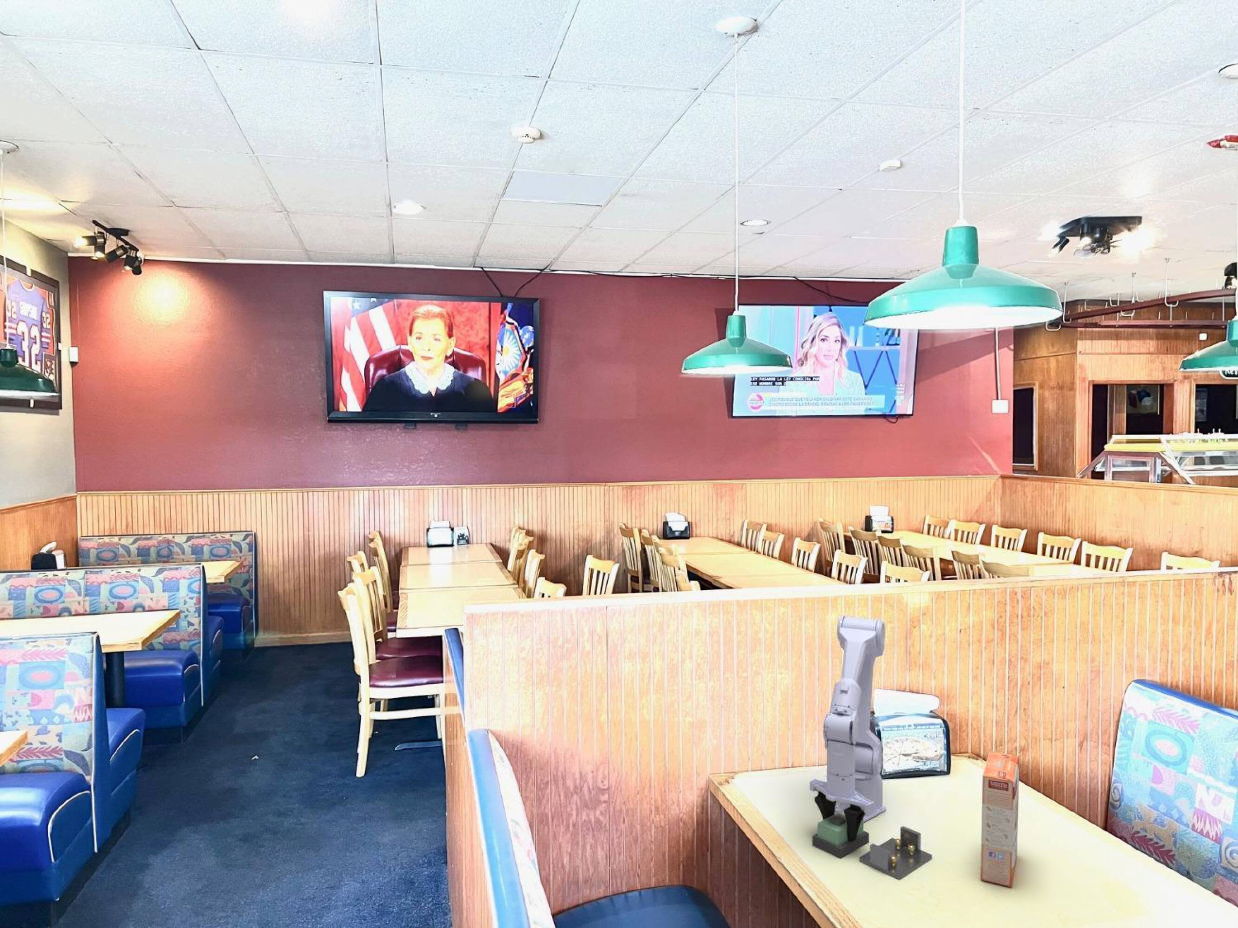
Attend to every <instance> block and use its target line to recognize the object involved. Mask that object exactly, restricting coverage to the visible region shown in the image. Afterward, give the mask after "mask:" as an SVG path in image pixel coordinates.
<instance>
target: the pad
mask: <svg viewBox="0 0 1238 928" xmlns="http://www.w3.org/2000/svg"><path fill="white" fill-rule="evenodd" d="M811 839H812V843H811V844H812V847H813V846H814V847H815V848H818V849H820V850H821V851H823V852H826V853H828V854H830V855H832V856H834V857H836V858H839V859H842V858H844V857H846V856H848V855H849V854H851V853H853V852H855V851H857V850H858V849H860V848H862V847H864V846H865V845H867V844H869V843H870V832H868V831H865V830H863V833H861V834H859V835H857V838H856V839H855V840H853V841H851V842H850V841H847V842H845V843H843V844H841V845H839V846H836V845H834V844H832V843H830V842H828V841H826V840H823V839H821V838H819V837H818V832H817V833H815V834H813V835H812V838H811Z"/></svg>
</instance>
